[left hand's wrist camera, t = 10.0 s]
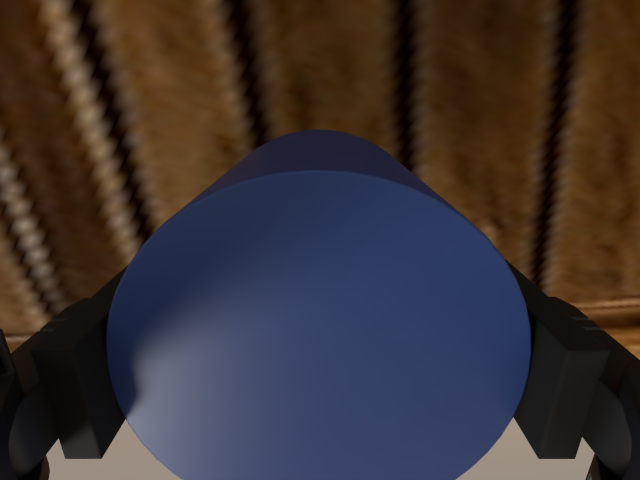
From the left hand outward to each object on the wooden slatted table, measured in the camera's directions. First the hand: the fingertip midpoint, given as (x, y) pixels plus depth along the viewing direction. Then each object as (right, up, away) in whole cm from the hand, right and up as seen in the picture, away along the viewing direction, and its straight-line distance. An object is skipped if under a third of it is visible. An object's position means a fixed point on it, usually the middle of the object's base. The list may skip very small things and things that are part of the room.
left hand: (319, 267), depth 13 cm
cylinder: (0, +1, +3) cm, 3 cm away
